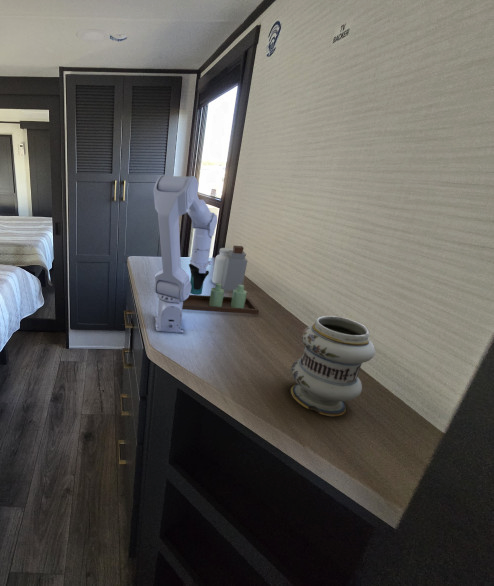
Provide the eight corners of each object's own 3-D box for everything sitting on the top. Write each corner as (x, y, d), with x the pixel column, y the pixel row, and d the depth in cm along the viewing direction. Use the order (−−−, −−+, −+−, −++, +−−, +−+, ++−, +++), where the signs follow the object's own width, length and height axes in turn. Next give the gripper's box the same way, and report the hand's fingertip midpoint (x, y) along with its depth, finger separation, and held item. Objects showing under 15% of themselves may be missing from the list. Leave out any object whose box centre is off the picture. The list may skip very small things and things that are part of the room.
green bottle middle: (223, 308, 108) (226, 286, 106) (210, 307, 109) (213, 286, 106) (220, 303, 112) (223, 282, 110) (207, 302, 113) (210, 281, 110)
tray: (257, 316, 105) (258, 310, 104) (179, 311, 107) (180, 305, 107) (247, 303, 115) (248, 298, 114) (176, 299, 117) (177, 293, 116)
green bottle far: (245, 309, 108) (249, 288, 105) (232, 308, 108) (236, 287, 105) (241, 304, 112) (245, 283, 109) (229, 303, 112) (232, 283, 109)
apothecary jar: (282, 404, 65) (304, 327, 58) (287, 375, 74) (307, 306, 68) (354, 430, 59) (388, 347, 52) (350, 395, 68) (378, 321, 61)
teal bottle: (202, 295, 108) (205, 273, 105) (189, 294, 108) (192, 272, 105) (200, 290, 112) (203, 269, 109) (188, 290, 112) (190, 268, 109)
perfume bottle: (241, 293, 125) (249, 249, 118) (223, 291, 126) (231, 248, 119) (237, 287, 131) (245, 245, 124) (221, 286, 132) (228, 244, 125)
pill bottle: (207, 281, 138) (212, 247, 132) (221, 279, 141) (226, 246, 135) (221, 286, 131) (226, 252, 126) (235, 284, 134) (241, 250, 129)
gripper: (218, 254, 97) (212, 295, 102) (209, 244, 110) (204, 280, 115) (195, 253, 98) (190, 293, 103) (188, 243, 111) (184, 279, 116)
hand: (196, 286), depth 109 cm, fingers closed on teal bottle, 4 cm apart
